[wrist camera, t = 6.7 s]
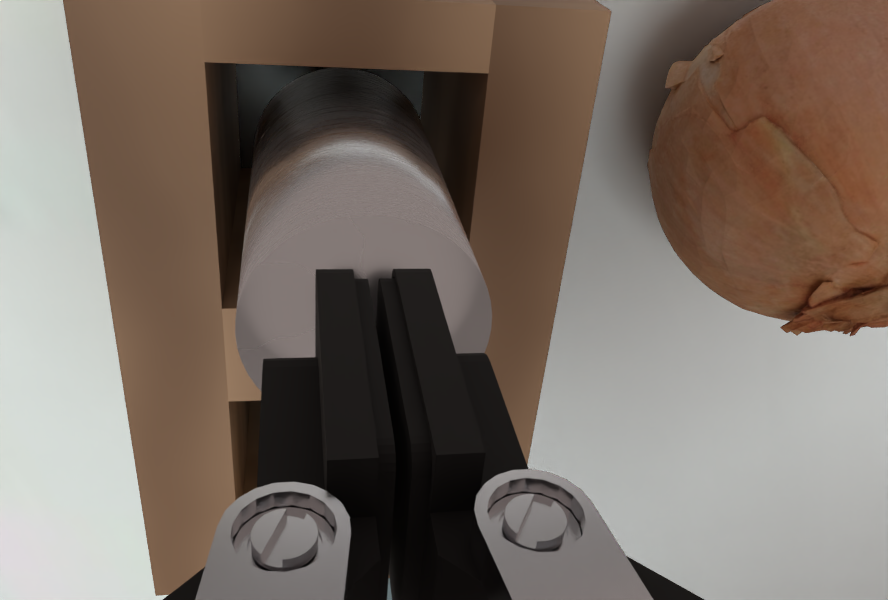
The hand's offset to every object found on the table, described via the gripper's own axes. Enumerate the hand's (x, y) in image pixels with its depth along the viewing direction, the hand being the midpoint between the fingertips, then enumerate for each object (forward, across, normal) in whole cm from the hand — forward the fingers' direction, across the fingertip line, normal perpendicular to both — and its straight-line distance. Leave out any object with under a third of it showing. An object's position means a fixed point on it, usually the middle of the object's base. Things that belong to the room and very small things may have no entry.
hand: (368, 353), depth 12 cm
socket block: (+14, 0, +4) cm, 14 cm away
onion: (+14, -14, 0) cm, 19 cm away
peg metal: (+9, 0, 0) cm, 9 cm away
